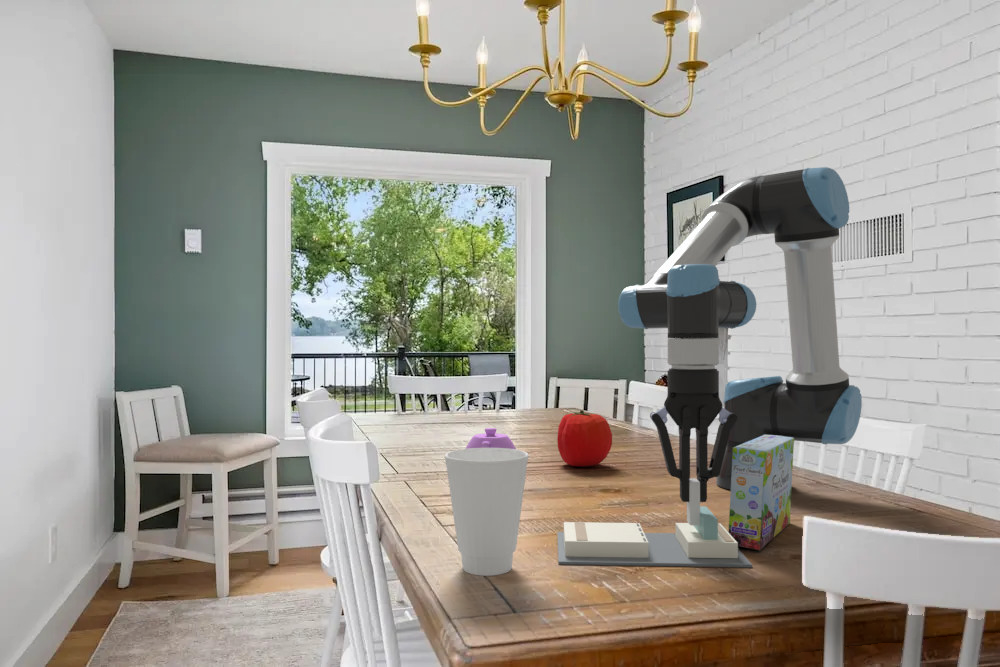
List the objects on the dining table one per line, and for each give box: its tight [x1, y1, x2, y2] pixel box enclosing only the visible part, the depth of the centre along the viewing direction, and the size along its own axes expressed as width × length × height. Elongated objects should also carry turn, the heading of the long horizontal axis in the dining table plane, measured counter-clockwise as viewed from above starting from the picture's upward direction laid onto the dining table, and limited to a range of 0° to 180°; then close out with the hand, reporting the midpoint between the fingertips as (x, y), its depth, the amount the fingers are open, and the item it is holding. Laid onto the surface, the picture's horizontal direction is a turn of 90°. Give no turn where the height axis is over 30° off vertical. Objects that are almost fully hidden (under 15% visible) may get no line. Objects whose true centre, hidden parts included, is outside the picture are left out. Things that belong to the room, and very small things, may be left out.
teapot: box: [465, 427, 517, 450], centre depth 177 cm, size 14×20×11 cm
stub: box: [675, 505, 739, 558], centre depth 113 cm, size 7×11×5 cm, turn 176°
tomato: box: [556, 409, 613, 468], centre depth 184 cm, size 16×14×14 cm
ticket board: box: [556, 521, 753, 568], centre depth 114 cm, size 27×16×3 cm, turn 86°
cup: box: [444, 448, 530, 577], centre depth 105 cm, size 12×12×16 cm
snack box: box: [727, 435, 795, 551], centre depth 121 cm, size 21×6×15 cm, turn 148°
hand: (693, 523), depth 113 cm, fingers closed
